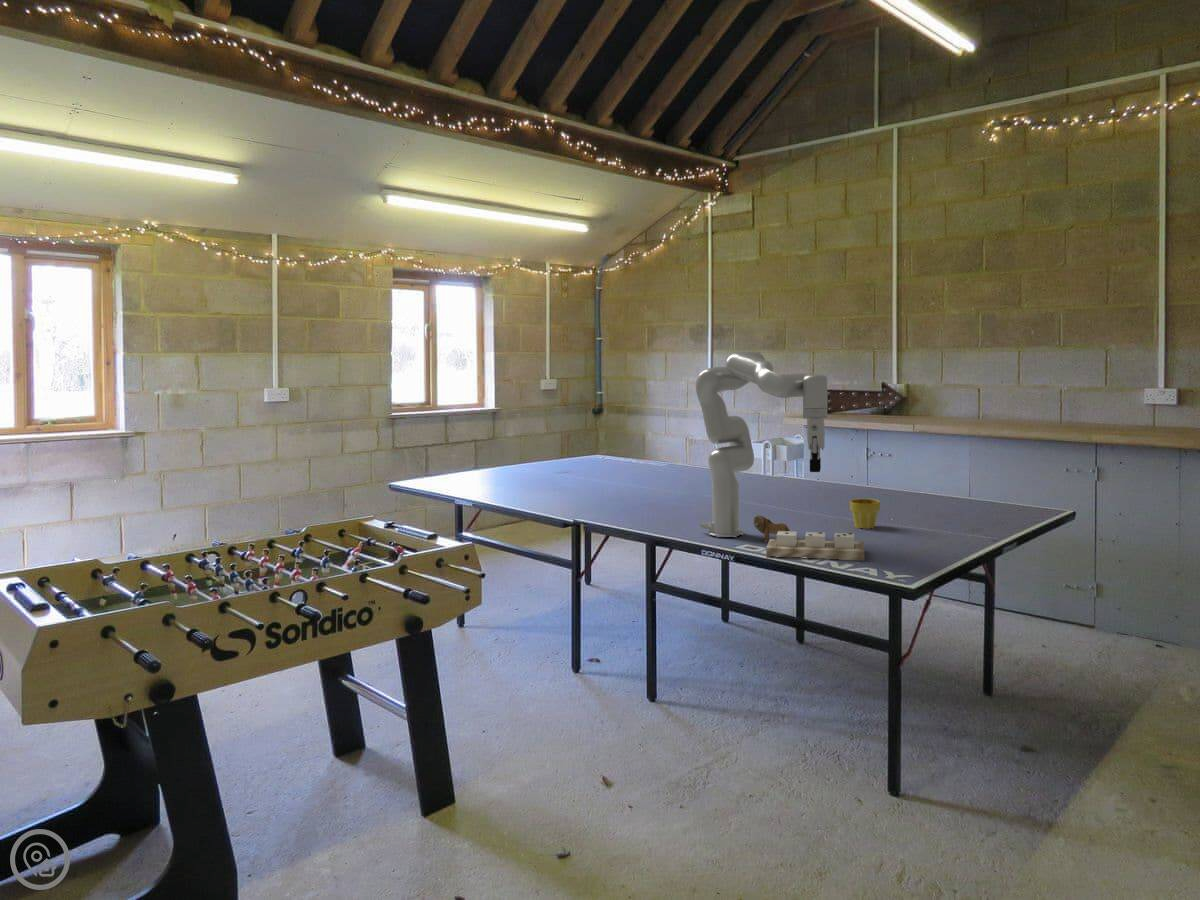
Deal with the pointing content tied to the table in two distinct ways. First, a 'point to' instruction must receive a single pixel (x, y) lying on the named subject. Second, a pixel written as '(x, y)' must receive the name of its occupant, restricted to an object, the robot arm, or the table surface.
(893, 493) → the table surface
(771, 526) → the lion figurine
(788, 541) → the tile one
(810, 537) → the tile two
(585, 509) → the table surface
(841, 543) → the tile three
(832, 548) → the board
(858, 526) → the plant pot
